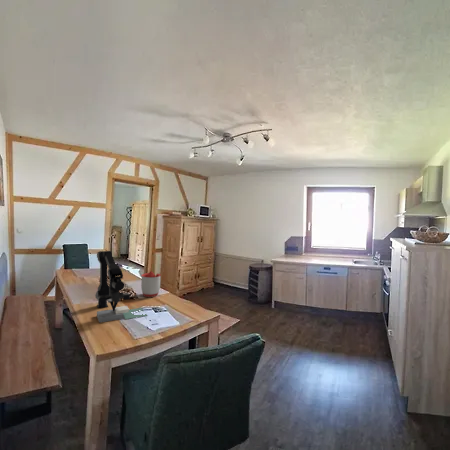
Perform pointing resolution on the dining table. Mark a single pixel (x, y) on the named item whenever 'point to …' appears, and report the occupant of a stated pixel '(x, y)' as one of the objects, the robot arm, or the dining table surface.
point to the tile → (121, 309)
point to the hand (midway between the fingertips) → (113, 310)
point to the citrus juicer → (150, 284)
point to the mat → (129, 315)
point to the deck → (108, 315)
